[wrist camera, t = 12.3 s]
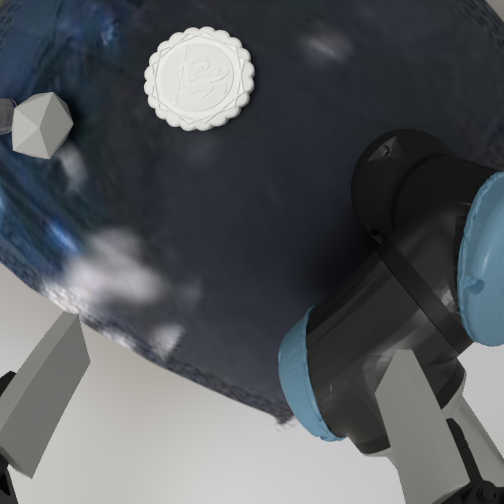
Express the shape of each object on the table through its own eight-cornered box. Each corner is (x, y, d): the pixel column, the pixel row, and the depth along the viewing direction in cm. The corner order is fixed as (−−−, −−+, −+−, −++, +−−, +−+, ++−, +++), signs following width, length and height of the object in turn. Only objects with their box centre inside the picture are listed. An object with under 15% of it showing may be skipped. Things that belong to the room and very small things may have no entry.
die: (41, 91, 32) (-10, 133, 27) (66, 68, 27) (3, 114, 22) (69, 134, 38) (22, 179, 33) (97, 120, 33) (42, 170, 28)
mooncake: (244, 138, 35) (242, 140, 31) (145, 123, 34) (133, 124, 31) (264, 40, 30) (264, 32, 26) (163, 29, 29) (153, 22, 26)
